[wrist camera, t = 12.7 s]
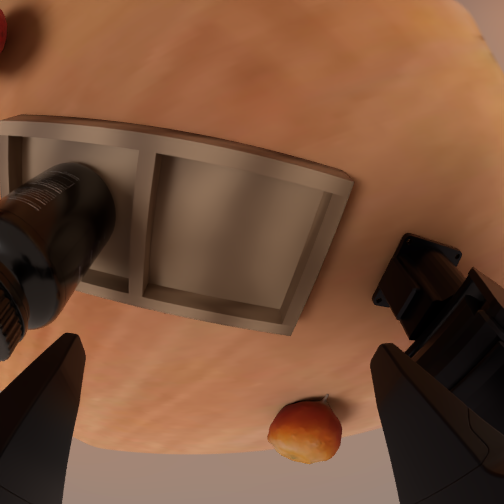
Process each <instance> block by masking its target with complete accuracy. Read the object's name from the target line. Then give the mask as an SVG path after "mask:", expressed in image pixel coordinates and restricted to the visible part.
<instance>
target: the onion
mask: <svg viewBox="0 0 504 504" xmlns="http://www.w3.org/2000/svg"><path fill="white" fill-rule="evenodd" d="M6 38H7V23H6V19H5V16H4V14H3V12H2V10H1V9H0V53H1V52H2V50H3V48H4V45H5V42H6Z"/></svg>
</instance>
